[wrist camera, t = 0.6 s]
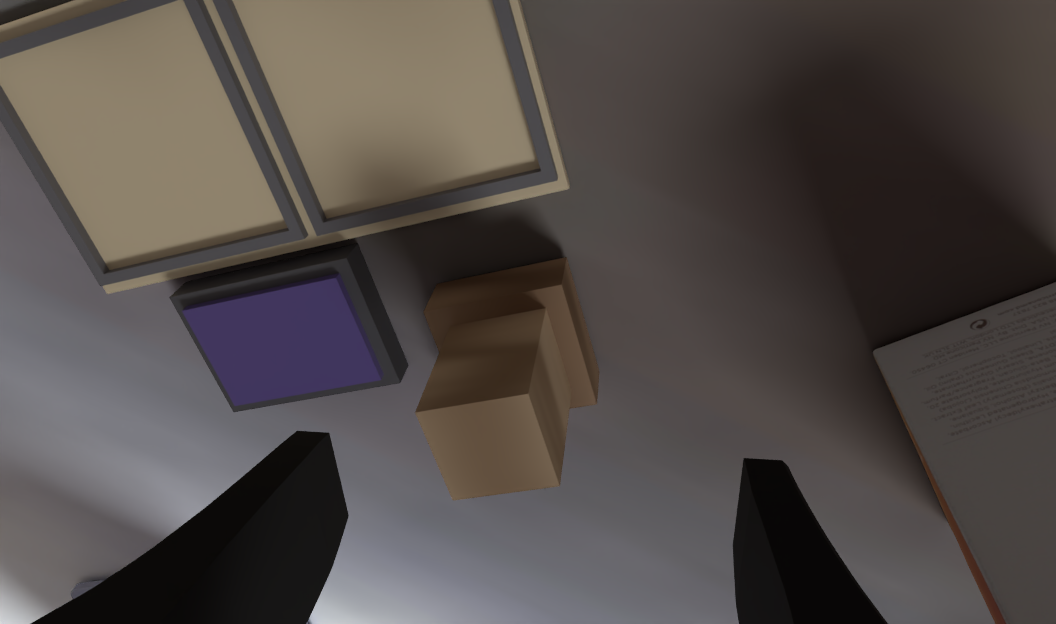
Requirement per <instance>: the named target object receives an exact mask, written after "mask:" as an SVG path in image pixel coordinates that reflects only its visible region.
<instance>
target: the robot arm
mask: <svg viewBox="0 0 1056 624" xmlns="http://www.w3.org/2000/svg"><path fill="white" fill-rule="evenodd" d="M348 516H349V515H348V511H347V507H346V502H345V498H344V494H343V490H342V485H341V481H340V477H339V473H338V468H337V464H336V460H335V456H334V451H333V447H332V443H331V439H330V434H329V433H323V432H307V431H296V432H295V433H294V434H293V435H291V436H290V437H289V438H288V439H287V440H285V441H284V442H283V443H282V444H280V445H279V446H278V447H277V448H276V449H275V450H273V451H272V452H271V453H270V454H269V455H268V456H266V457H265V458H264V459H263V460H262V461H261V462H259V463H258V464H257V465H256V466H255V467H254V468H252V469H251V470H250V471H249V472H248V473H247V474H245V475H244V476H243V477H242V478H241V479H239V480H238V481H237V482H236V483H235V484H233V485H232V486H231V487H230V488H229V489H227V490H226V491H225V492H224V493H223V494H221V495H220V496H219V497H218V498H217V499H215V500H214V501H213V502H212V503H210V504H209V505H208V506H207V507H206V508H204V509H203V510H202V511H200V512H199V513H198V514H197V515H195V516H194V517H193V518H191V519H190V520H189V521H187V522H186V523H185V524H183V525H182V526H181V527H179V528H178V529H177V530H176V531H174V532H173V533H172V534H170V535H169V536H168V537H166V538H165V539H164V540H162V541H161V542H160V543H159V544H157V545H156V546H155V547H153V548H152V549H150V550H149V551H148V552H146V553H145V554H143V555H142V556H140V557H139V558H137V559H136V560H135V561H133V562H132V563H130V564H129V565H127V566H126V567H124V568H123V569H121V570H120V571H118V572H117V573H115V574H113V575H112V576H110V577H109V578H107V579H106V580H100V581H92V582H83V583H79V584H77V585H76V586H75V588H74V589H73V590H72V591H71V596H72V598H73V600H71V601H69V602H68V603H66V604H64V605H62V606H61V607H59V608H57V609H55V610H54V611H52V612H50V613H48V614H47V615H45V616H43V617H41V618H40V619H38V620H36V621H35V622H33V623H31V624H308V622H307V621H308V619H309V617H310V615H311V613H312V611H313V609H314V606H315V604H316V602H317V600H318V598H319V596H320V593H321V591H322V589H323V587H324V585H325V582H326V580H327V578H328V576H329V574H330V571H331V569H332V566H333V563H334V560H335V557H336V554H337V551H338V548H339V545H340V542H341V539H342V536H343V532H344V529H345V526H346V522H347V519H348ZM733 558H734V579H735V595H736V607H737V613H738V620H739V624H888V623H887V622H886V621H885V619H884V618H883V617H882V615H881V614H880V613H879V611H878V610H877V609H876V607H875V606H874V605H873V603H872V602H871V601H870V599H869V598H868V597H867V595H866V594H865V593H864V591H863V590H862V588H861V587H860V586H859V584H858V583H857V581H856V580H855V578H854V577H853V576H852V574H851V573H850V571H849V570H848V568H847V567H846V565H845V564H844V562H843V561H842V559H841V558H840V556H839V555H838V553H837V551H836V550H835V548H834V547H833V545H832V544H831V542H830V541H829V539H828V538H827V536H826V534H825V533H824V531H823V530H822V528H821V526H820V525H819V523H818V521H817V519H816V518H815V516H814V514H813V513H812V511H811V509H810V507H809V506H808V504H807V502H806V500H805V499H804V497H803V495H802V493H801V491H800V489H799V487H798V486H797V484H796V482H795V480H794V478H793V476H792V474H791V472H790V469H789V467H788V466H787V465H786V464H785V463H784V462H783V461H782V460H766V459H749V458H744V460H743V468H742V476H741V484H740V492H739V500H738V508H737V516H736V524H735V532H734V540H733Z"/></svg>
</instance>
